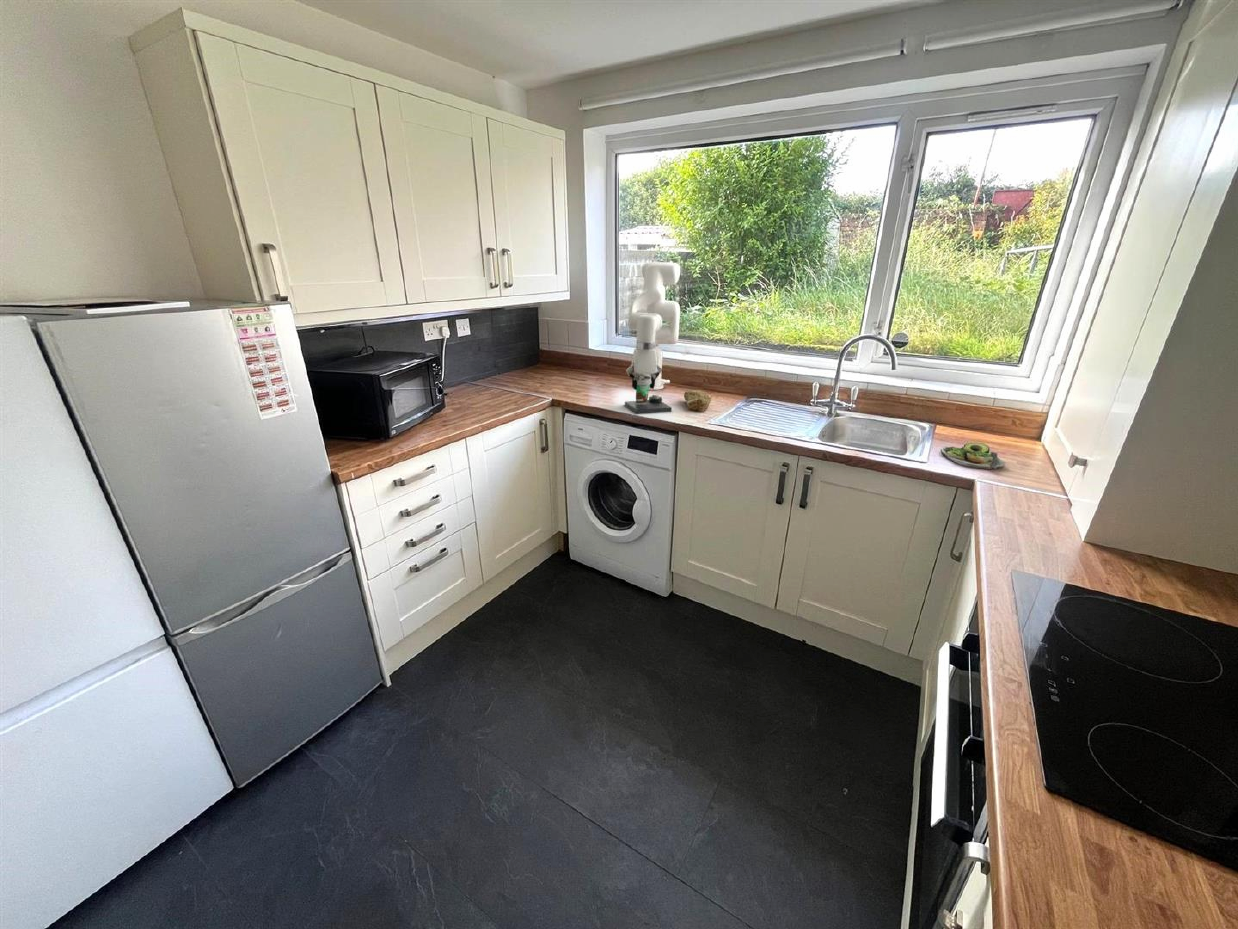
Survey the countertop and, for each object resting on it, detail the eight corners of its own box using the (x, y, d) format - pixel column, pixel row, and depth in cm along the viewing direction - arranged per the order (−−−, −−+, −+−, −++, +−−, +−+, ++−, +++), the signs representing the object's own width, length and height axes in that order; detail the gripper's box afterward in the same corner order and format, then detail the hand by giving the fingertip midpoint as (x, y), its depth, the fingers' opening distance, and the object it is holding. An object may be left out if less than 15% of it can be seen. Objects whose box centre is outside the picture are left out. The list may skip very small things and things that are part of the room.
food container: (650, 404, 208) (652, 381, 204) (636, 403, 208) (637, 380, 204) (649, 397, 219) (651, 374, 216) (635, 396, 219) (637, 373, 216)
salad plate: (1021, 475, 155) (1026, 461, 154) (959, 470, 158) (963, 456, 156) (989, 454, 173) (993, 442, 171) (934, 450, 176) (937, 437, 174)
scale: (658, 403, 225) (658, 395, 224) (671, 411, 212) (672, 403, 211) (624, 405, 219) (624, 397, 218) (636, 414, 207) (636, 405, 206)
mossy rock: (709, 415, 213) (714, 396, 229) (707, 399, 209) (712, 380, 225) (679, 417, 217) (686, 398, 233) (676, 401, 213) (684, 382, 229)
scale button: (657, 397, 222) (657, 393, 221) (659, 399, 219) (659, 395, 219) (651, 397, 221) (651, 394, 220) (653, 399, 219) (654, 395, 218)
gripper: (660, 344, 211) (658, 385, 218) (622, 345, 206) (621, 387, 212) (668, 347, 205) (665, 389, 211) (629, 347, 199) (627, 391, 206)
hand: (643, 388), depth 212 cm, fingers closed on food container, 7 cm apart
